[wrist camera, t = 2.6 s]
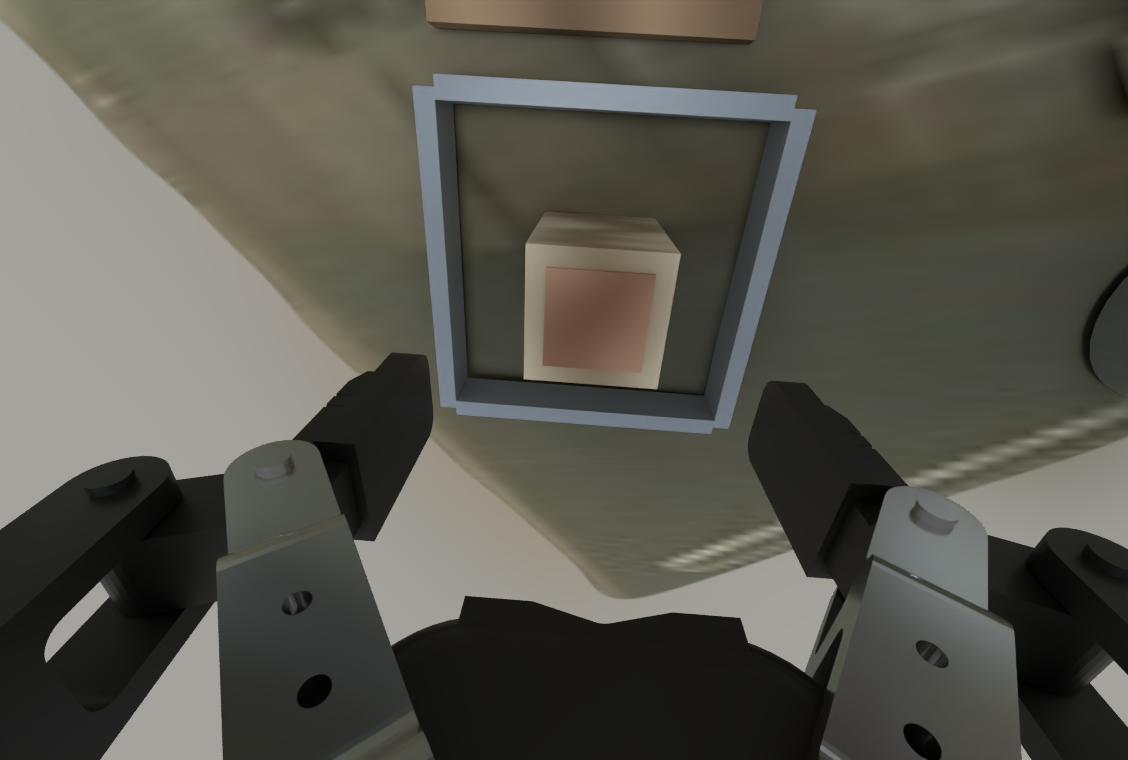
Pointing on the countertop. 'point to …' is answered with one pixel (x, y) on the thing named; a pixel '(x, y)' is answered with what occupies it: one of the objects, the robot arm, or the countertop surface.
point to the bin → (746, 284)
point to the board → (606, 18)
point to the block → (597, 299)
